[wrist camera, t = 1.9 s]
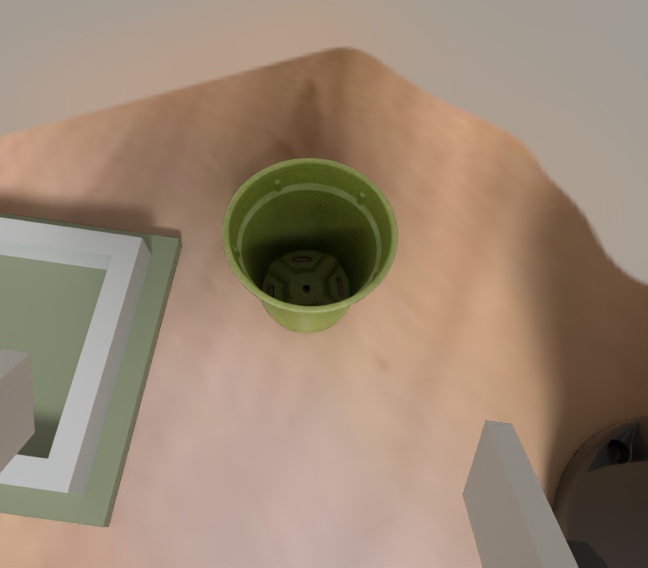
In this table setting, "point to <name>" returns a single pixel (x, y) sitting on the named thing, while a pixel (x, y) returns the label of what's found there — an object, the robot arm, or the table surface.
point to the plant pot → (309, 239)
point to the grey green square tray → (79, 356)
